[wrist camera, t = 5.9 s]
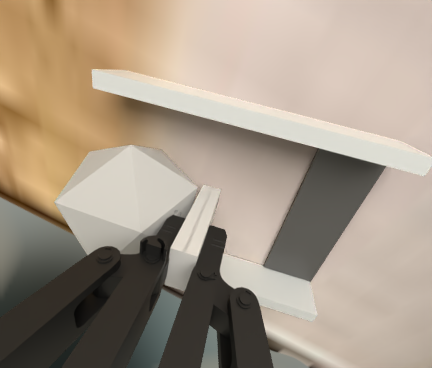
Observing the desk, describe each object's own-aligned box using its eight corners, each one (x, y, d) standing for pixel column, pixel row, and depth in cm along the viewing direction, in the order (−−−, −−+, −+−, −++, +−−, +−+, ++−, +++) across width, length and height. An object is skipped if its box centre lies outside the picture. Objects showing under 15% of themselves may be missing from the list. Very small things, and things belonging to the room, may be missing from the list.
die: (163, 232, 22) (193, 298, 14) (63, 221, 18) (21, 305, 10) (185, 155, 21) (233, 177, 13) (85, 125, 17) (59, 129, 9)
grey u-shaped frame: (399, 140, 14) (437, 159, 11) (305, 286, 21) (312, 322, 18) (125, 70, 15) (91, 69, 12) (124, 230, 23) (102, 254, 19)
